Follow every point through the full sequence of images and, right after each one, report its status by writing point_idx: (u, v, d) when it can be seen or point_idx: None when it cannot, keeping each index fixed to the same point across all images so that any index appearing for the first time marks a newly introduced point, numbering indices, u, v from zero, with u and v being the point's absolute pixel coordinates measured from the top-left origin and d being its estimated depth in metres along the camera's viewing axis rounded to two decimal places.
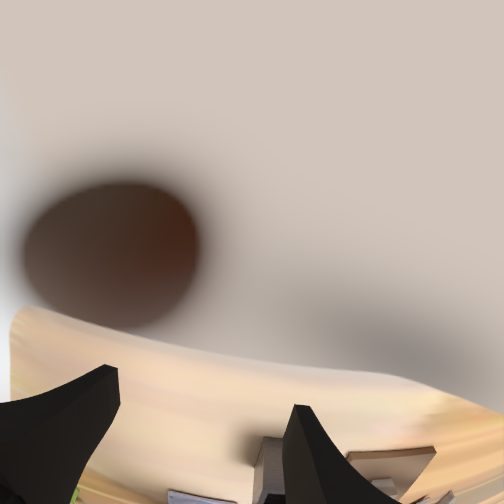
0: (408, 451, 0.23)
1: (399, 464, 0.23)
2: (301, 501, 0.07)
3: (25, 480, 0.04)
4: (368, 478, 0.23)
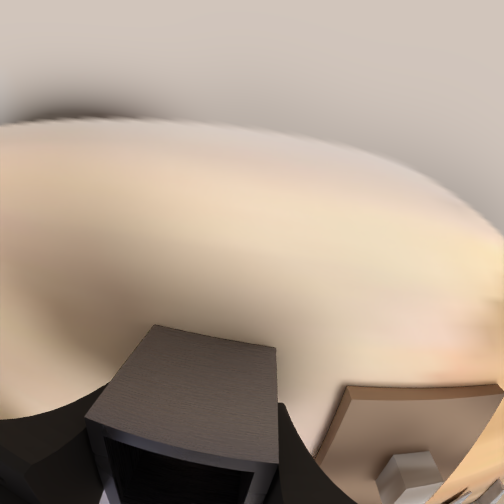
0: (460, 390, 0.12)
1: (445, 418, 0.11)
2: (267, 499, 0.07)
3: (56, 498, 0.04)
4: (386, 450, 0.12)
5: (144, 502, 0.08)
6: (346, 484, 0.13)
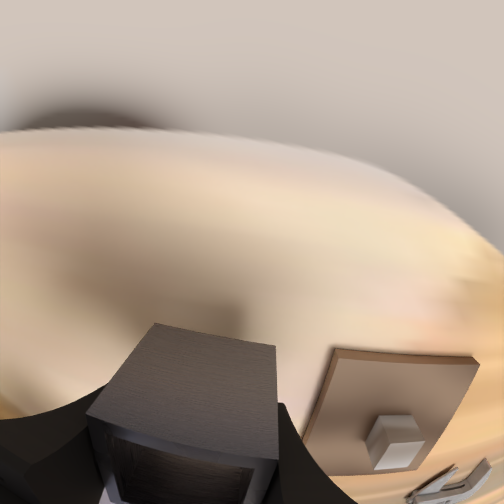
0: (436, 358, 0.15)
1: (423, 382, 0.15)
2: (267, 499, 0.07)
3: (56, 497, 0.04)
4: (372, 410, 0.15)
5: (145, 500, 0.08)
6: (339, 444, 0.16)
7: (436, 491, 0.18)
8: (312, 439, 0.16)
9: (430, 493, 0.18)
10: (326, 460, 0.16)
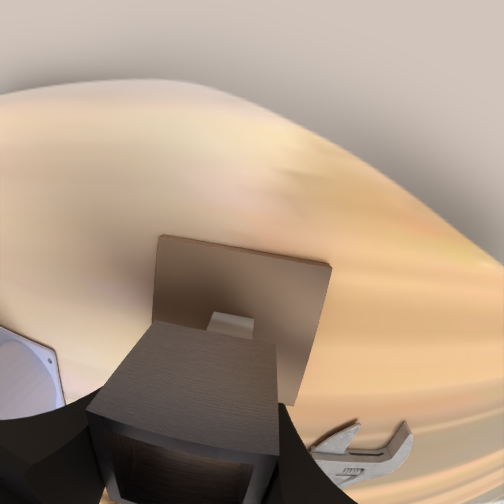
0: (271, 254, 0.18)
1: (255, 277, 0.17)
2: (267, 499, 0.07)
3: (56, 498, 0.04)
4: (204, 303, 0.18)
5: (145, 497, 0.08)
6: None
7: (341, 452, 0.21)
8: None
9: (332, 453, 0.21)
10: None
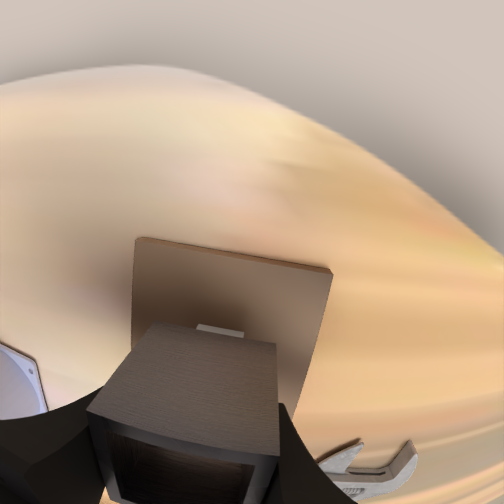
0: (263, 259, 0.16)
1: (245, 285, 0.15)
2: (267, 499, 0.07)
3: (56, 497, 0.04)
4: (187, 314, 0.16)
5: (145, 498, 0.08)
6: None
7: (341, 472, 0.18)
8: None
9: (332, 472, 0.18)
10: None
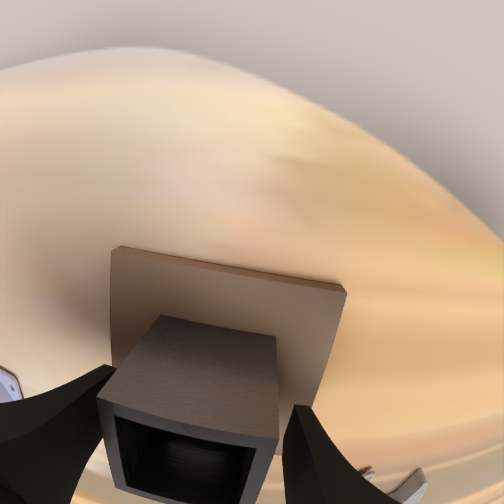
0: (263, 274, 0.13)
1: (240, 306, 0.13)
2: (301, 501, 0.07)
3: (25, 480, 0.04)
4: None
5: (149, 485, 0.08)
6: None
7: None
8: None
9: None
10: None
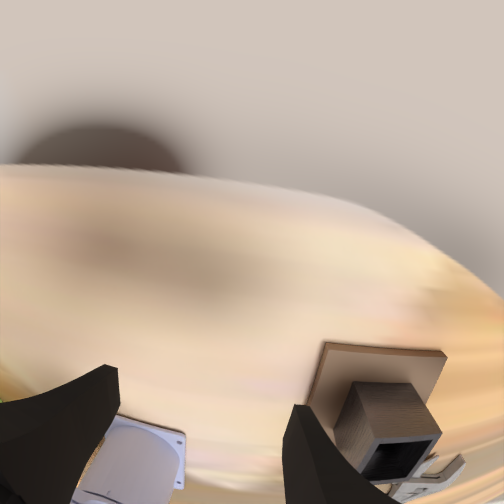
0: (408, 351, 0.20)
1: (398, 370, 0.19)
2: (301, 501, 0.07)
3: (25, 480, 0.04)
4: None
5: (364, 477, 0.15)
6: (331, 421, 0.21)
7: (417, 476, 0.23)
8: None
9: (412, 477, 0.23)
10: None
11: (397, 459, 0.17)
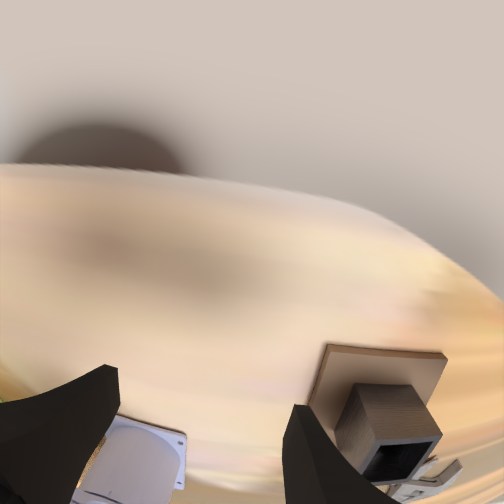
0: (409, 353, 0.20)
1: (399, 372, 0.19)
2: (301, 501, 0.07)
3: (25, 480, 0.04)
4: None
5: (365, 478, 0.15)
6: (332, 422, 0.21)
7: (416, 479, 0.23)
8: None
9: (411, 479, 0.23)
10: None
11: (397, 460, 0.17)
